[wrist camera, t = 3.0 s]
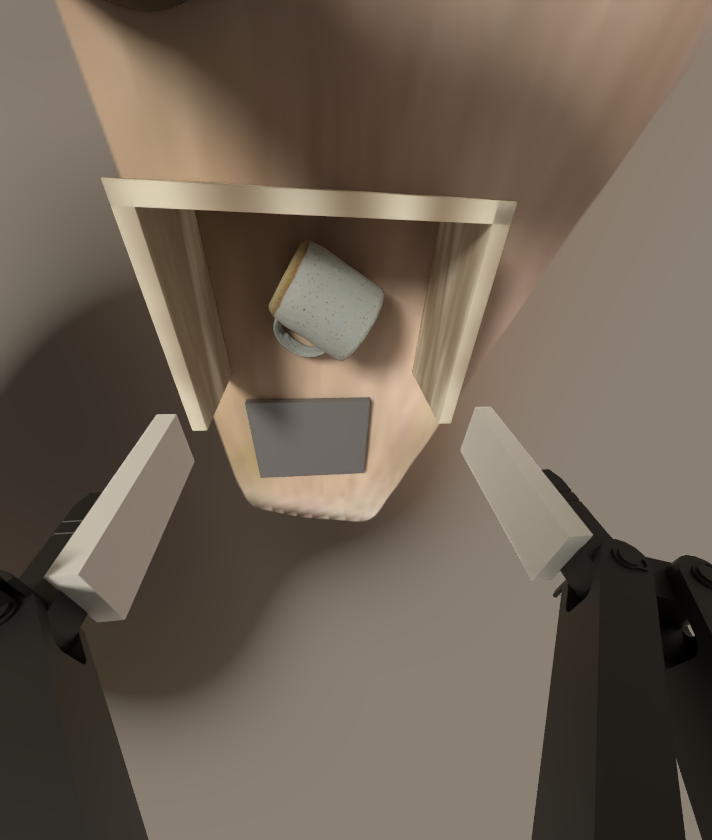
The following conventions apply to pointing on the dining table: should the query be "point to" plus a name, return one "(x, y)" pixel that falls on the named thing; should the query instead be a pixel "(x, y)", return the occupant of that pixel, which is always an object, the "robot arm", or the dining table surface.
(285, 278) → the ceramic mug
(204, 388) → the open box
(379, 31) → the dining table surface
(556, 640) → the robot arm
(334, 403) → the rubber mat
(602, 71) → the dining table surface
